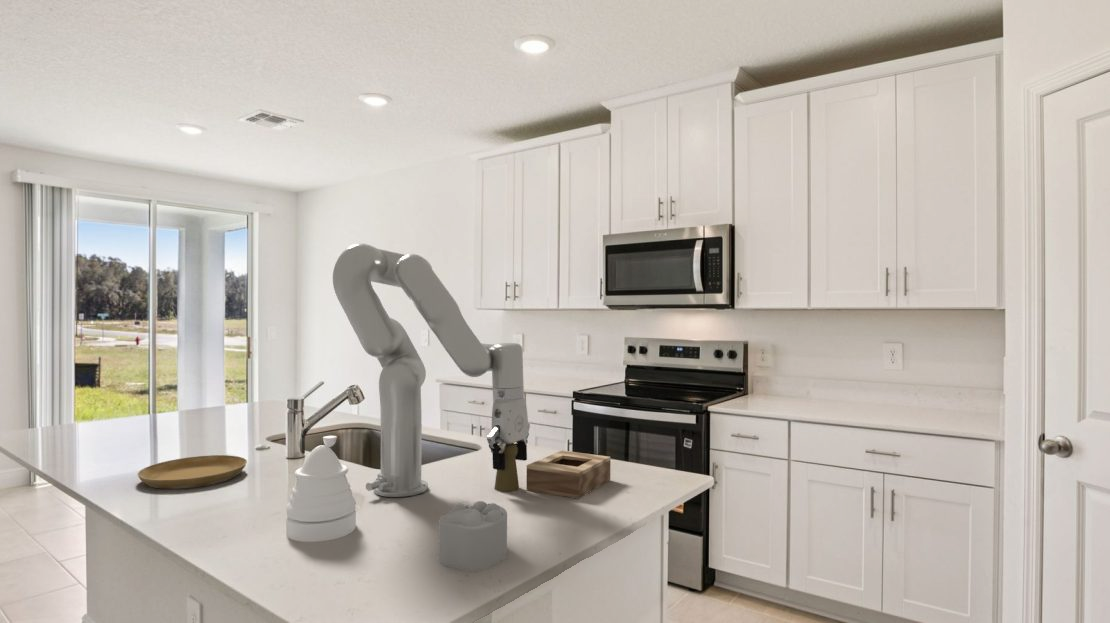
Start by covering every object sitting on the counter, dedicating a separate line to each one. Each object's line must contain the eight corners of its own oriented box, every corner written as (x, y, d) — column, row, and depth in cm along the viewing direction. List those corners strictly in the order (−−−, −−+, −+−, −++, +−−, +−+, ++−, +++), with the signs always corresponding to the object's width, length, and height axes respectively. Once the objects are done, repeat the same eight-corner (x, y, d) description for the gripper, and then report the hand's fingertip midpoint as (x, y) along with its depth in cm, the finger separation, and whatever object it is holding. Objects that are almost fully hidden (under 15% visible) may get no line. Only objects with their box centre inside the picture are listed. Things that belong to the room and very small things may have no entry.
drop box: (578, 498, 146) (578, 472, 146) (526, 490, 152) (526, 465, 152) (610, 480, 161) (610, 456, 161) (561, 473, 168) (562, 450, 168)
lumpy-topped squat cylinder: (430, 562, 109) (430, 512, 109) (473, 538, 121) (473, 493, 121) (480, 574, 105) (480, 522, 105) (520, 548, 116) (520, 501, 116)
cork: (521, 485, 157) (521, 440, 156) (517, 492, 151) (517, 446, 150) (496, 484, 157) (497, 440, 157) (492, 491, 151) (492, 445, 151)
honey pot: (325, 515, 134) (326, 429, 133) (369, 526, 127) (369, 436, 127) (271, 533, 123) (271, 440, 122) (316, 546, 116) (316, 448, 116)
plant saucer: (123, 496, 146) (123, 482, 146) (152, 471, 169) (152, 458, 169) (239, 487, 154) (239, 474, 154) (252, 464, 177) (252, 452, 177)
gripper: (501, 400, 144) (503, 475, 144) (539, 390, 159) (541, 457, 160) (474, 398, 148) (476, 471, 148) (514, 388, 163) (516, 455, 163)
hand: (510, 464), depth 154 cm, fingers open, 9 cm apart
